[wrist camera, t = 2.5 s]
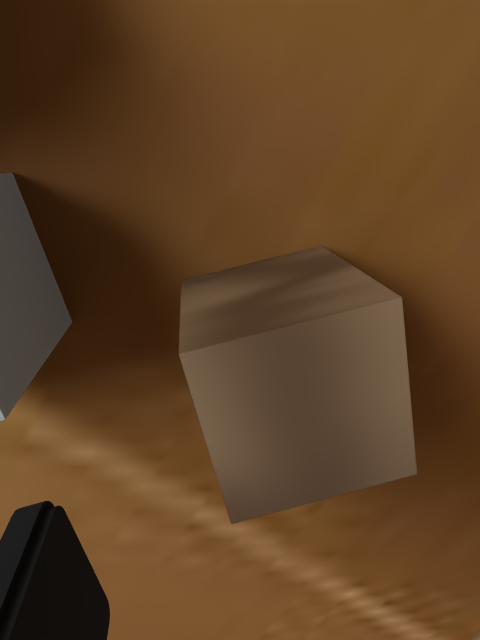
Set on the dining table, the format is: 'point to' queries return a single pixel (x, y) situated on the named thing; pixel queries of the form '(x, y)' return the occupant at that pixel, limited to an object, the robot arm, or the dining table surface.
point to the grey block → (24, 299)
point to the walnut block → (297, 380)
